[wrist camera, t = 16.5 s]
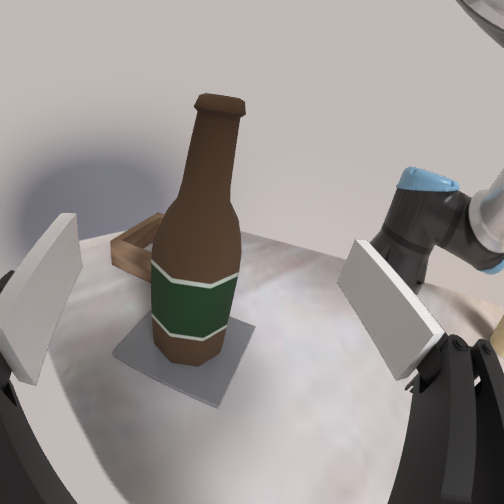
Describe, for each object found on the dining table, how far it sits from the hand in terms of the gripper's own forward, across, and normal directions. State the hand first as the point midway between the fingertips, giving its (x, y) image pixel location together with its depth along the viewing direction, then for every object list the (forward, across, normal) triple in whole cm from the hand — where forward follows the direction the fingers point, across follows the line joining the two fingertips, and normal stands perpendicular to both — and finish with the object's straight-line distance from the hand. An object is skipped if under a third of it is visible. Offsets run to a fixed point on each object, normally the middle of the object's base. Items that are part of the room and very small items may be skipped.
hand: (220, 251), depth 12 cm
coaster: (+10, 0, -18) cm, 20 cm away
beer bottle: (+10, 0, -18) cm, 20 cm away
